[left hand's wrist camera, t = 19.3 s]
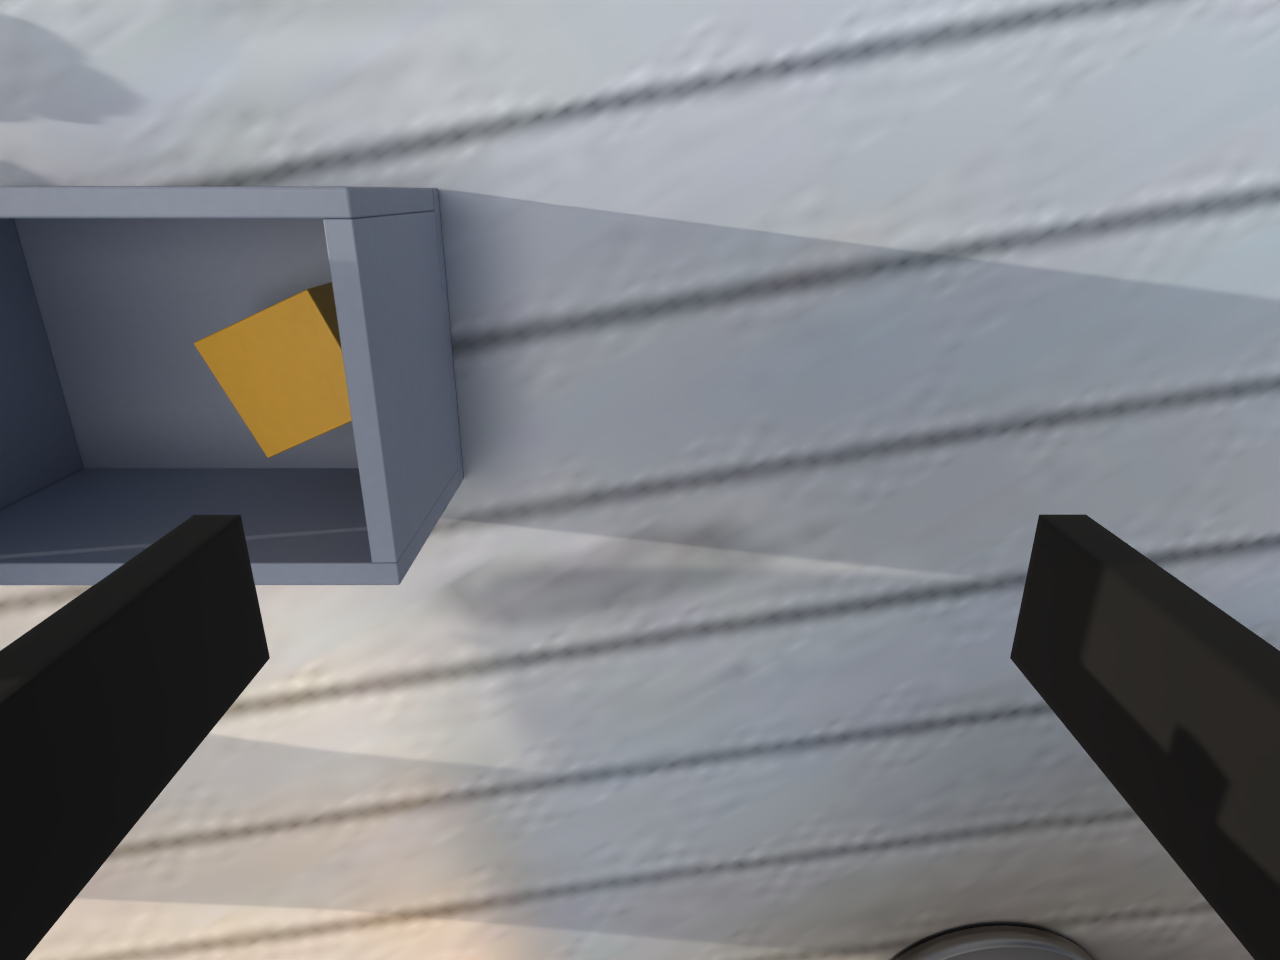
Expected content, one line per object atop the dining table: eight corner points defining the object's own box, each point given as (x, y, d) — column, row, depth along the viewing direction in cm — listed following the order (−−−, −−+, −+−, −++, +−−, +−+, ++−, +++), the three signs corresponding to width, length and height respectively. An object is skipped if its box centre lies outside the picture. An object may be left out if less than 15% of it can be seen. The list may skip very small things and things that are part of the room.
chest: (438, 188, 30) (348, 186, 20) (464, 479, 34) (399, 585, 25) (0, 187, 29) (-288, 186, 20) (83, 479, 34) (-123, 585, 25)
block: (354, 274, 30) (306, 289, 26) (412, 380, 31) (376, 410, 27) (255, 321, 31) (192, 343, 26) (317, 422, 32) (267, 458, 28)
